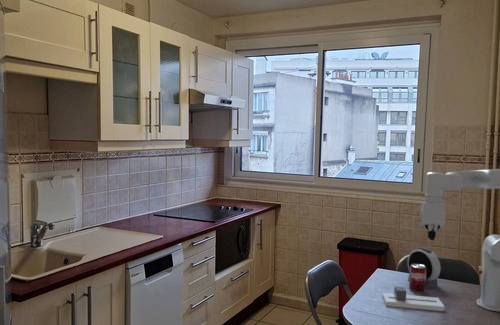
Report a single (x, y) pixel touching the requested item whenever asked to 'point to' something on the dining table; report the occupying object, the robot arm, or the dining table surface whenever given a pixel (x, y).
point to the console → (414, 302)
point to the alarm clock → (426, 264)
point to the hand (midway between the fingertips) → (431, 239)
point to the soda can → (417, 278)
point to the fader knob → (400, 293)
